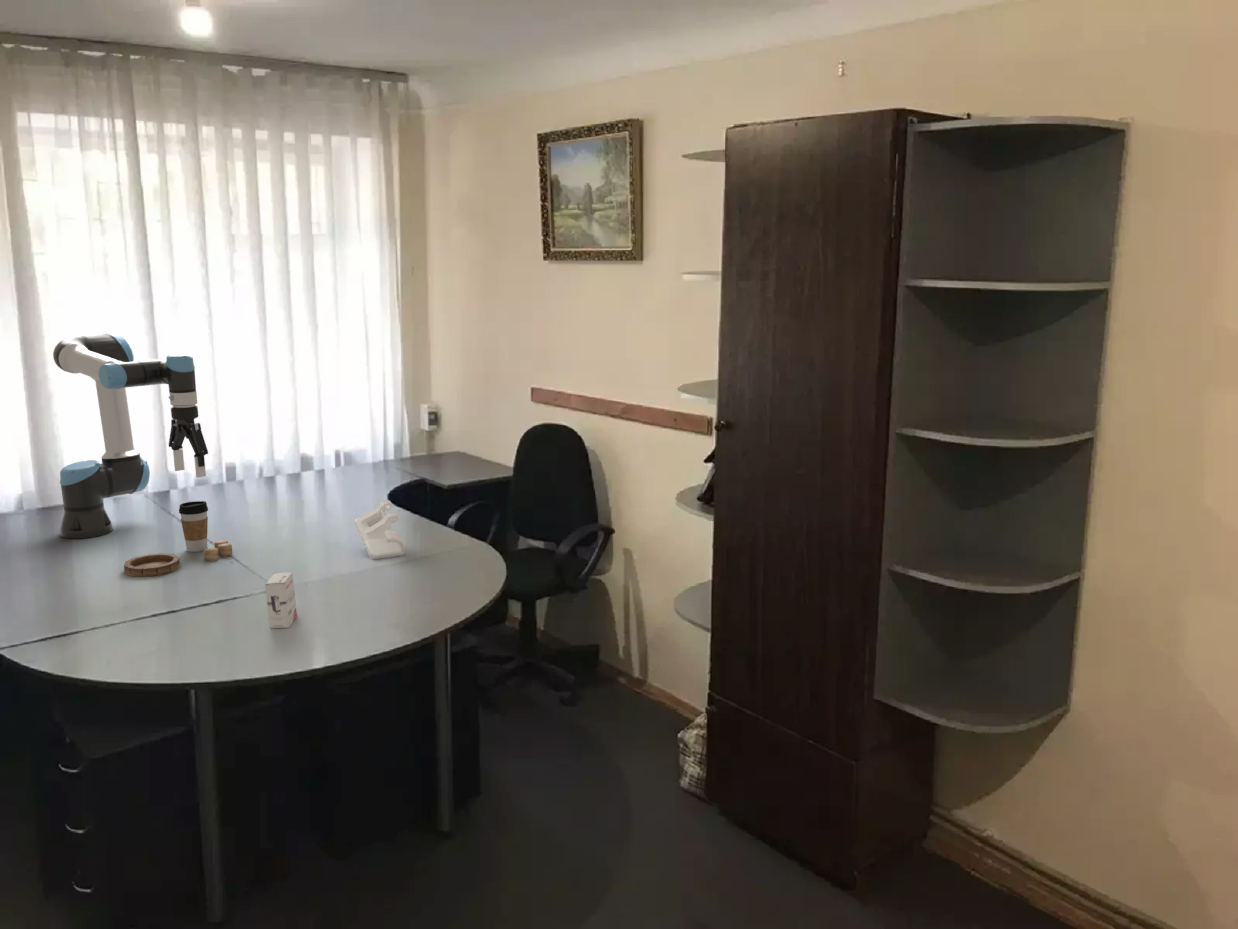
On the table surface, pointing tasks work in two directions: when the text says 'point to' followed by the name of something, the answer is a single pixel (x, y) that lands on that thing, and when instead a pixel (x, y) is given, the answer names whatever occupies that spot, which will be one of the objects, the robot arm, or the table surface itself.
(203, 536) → the coffee cup
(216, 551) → the bead
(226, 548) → the bead
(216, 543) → the bead
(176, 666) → the table surface
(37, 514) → the table surface
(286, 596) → the ink box
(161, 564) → the round tray
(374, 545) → the white angular bracket-shaped piece
